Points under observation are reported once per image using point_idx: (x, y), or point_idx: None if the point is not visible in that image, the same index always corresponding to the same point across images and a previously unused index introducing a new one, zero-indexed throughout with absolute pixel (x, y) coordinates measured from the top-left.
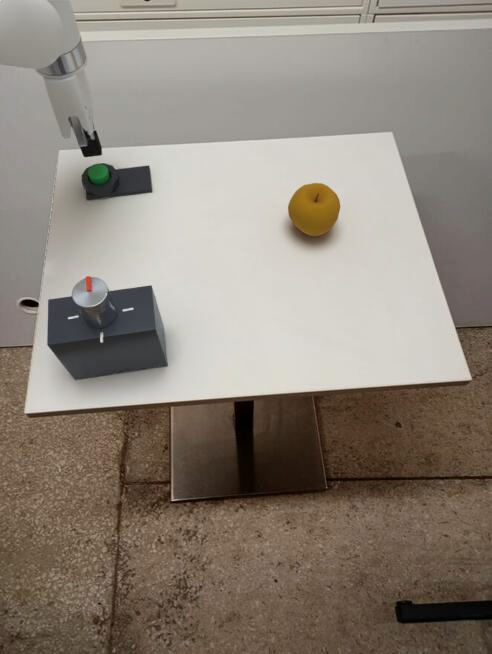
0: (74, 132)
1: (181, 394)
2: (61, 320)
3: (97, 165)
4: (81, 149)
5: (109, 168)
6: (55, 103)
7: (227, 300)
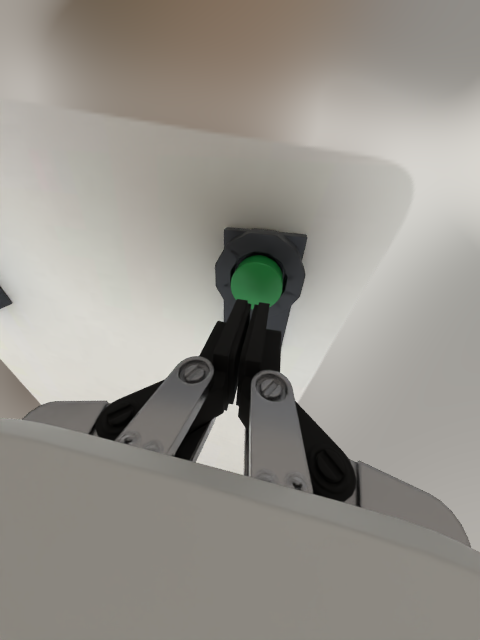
0: (132, 423)
1: None
2: None
3: (277, 290)
4: (228, 318)
5: (276, 305)
6: None
7: (71, 363)
